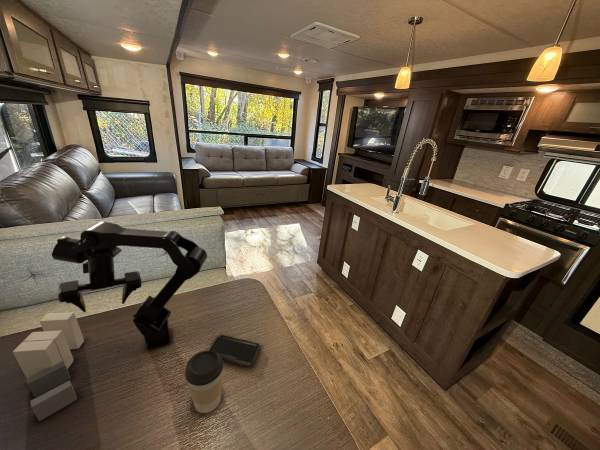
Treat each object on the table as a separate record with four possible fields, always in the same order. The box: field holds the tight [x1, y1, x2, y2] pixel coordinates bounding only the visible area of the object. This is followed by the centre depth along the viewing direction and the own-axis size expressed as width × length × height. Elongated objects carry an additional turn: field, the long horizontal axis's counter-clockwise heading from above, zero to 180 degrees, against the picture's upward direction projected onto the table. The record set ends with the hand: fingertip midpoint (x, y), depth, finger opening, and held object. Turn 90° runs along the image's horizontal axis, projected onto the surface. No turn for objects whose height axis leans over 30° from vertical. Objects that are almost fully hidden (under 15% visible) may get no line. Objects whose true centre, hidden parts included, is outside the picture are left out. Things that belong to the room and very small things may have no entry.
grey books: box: [26, 361, 78, 422], centre depth 63 cm, size 7×10×6 cm
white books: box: [12, 331, 74, 379], centre depth 67 cm, size 7×6×12 cm
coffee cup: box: [184, 349, 224, 414], centre depth 64 cm, size 9×9×15 cm
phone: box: [209, 334, 261, 367], centre depth 80 cm, size 8×1×15 cm
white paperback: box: [39, 311, 85, 350], centre depth 75 cm, size 7×3×12 cm, turn 100°
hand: (104, 307), depth 76 cm, fingers open, 9 cm apart
